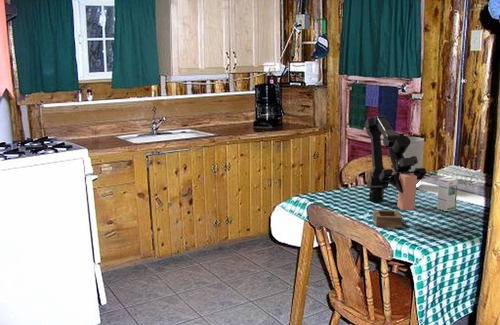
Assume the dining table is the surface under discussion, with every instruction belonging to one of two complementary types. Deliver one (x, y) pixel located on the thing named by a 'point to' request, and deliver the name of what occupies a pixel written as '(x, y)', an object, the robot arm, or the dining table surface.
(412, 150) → the cylinder vase
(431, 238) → the dining table surface
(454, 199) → the syrup box
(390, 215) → the socket block
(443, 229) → the dining table surface
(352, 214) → the dining table surface
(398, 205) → the square peg
